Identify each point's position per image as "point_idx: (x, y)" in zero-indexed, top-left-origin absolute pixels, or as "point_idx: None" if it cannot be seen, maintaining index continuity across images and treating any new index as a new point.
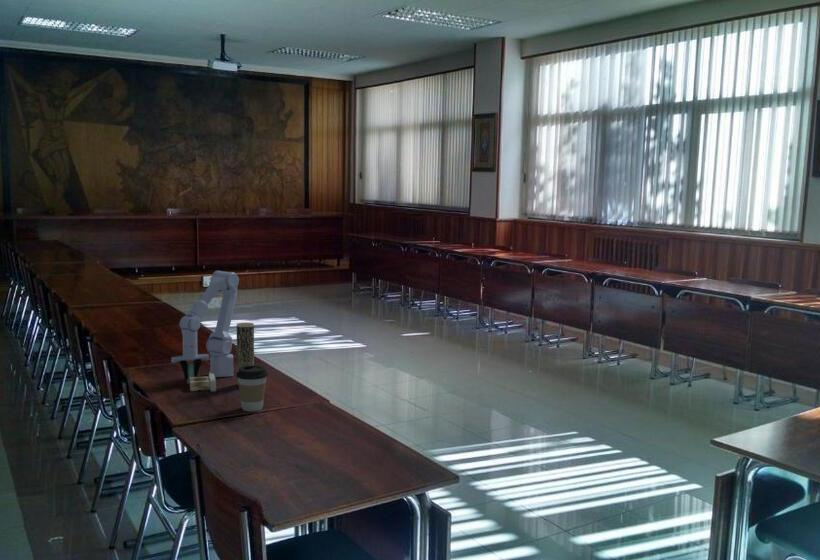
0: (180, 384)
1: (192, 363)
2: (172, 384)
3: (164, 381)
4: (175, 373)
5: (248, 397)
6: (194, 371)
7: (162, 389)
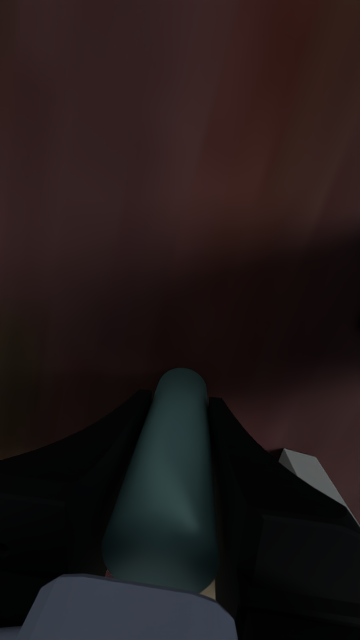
0: (115, 387)
1: (195, 550)
2: (69, 363)
3: (30, 265)
4: (151, 21)
5: None
6: (215, 447)
7: (3, 434)
